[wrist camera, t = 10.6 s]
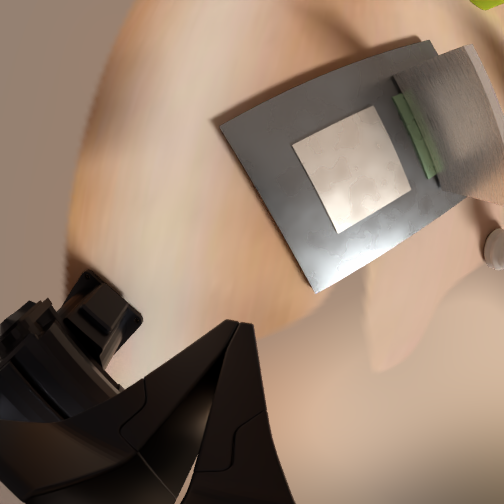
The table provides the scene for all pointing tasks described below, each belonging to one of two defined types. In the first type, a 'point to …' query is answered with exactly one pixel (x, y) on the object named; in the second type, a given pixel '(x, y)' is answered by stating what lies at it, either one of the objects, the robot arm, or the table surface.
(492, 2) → the soap dispenser
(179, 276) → the table surface
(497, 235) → the rook chess piece
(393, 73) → the base
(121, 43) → the table surface
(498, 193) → the grey bracket
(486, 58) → the table surface
